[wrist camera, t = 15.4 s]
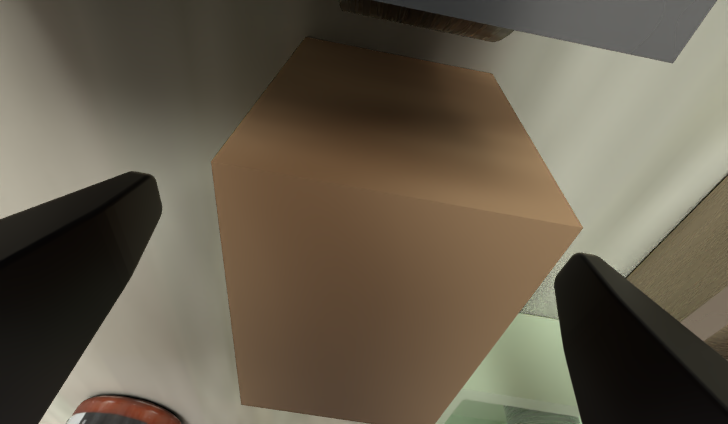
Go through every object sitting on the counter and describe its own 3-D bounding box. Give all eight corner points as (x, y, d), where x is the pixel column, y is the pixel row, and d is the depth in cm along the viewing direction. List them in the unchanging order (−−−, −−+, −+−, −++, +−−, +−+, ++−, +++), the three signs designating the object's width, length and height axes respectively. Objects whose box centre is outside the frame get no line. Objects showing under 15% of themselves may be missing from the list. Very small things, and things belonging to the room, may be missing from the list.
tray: (715, 346, 13) (784, 439, 11) (588, 430, 18) (616, 505, 16) (441, 299, 13) (450, 386, 10) (390, 399, 18) (389, 472, 15)
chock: (491, 72, 8) (582, 227, 4) (418, 260, 12) (429, 432, 8) (306, 36, 8) (211, 161, 4) (294, 239, 11) (240, 404, 8)
